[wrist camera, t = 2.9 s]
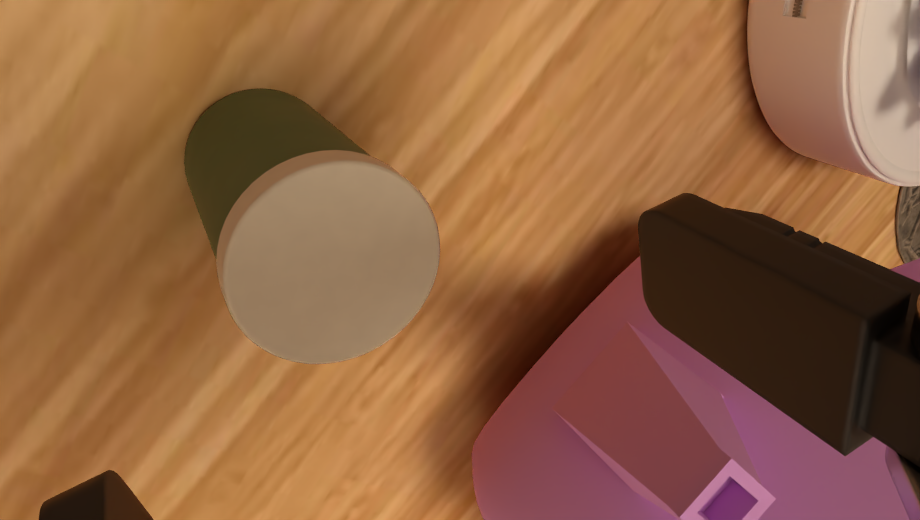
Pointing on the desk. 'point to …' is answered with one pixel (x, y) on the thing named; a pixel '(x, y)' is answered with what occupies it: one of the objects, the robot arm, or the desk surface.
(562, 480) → the teapot
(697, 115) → the desk surface
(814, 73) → the lotus flower trinket box
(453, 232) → the desk surface
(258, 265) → the tube
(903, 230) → the wizard figurine
